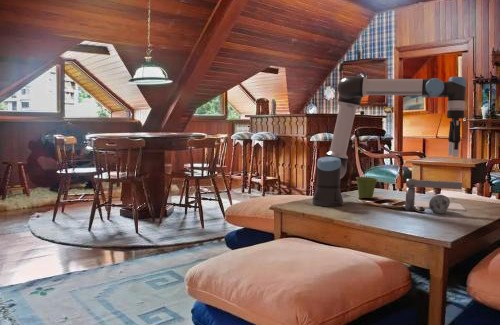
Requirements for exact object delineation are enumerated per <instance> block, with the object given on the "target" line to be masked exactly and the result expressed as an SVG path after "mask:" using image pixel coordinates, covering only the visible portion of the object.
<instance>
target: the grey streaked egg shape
mask: <svg viewBox="0 0 500 325" xmlns="http://www.w3.org/2000/svg"><path fill="white" fill-rule="evenodd" d="M428 202H429V208H430V210H431V211H432V212H433V213H435V214H439V215H442V214H444V213H446V212H447V211H448V210H447V208H448V207H449V204H450V203H451V202H450V198H449V197H447V196H446V195H444V194H436V195H434V196H432V197H431V198H430V200H429V201H428Z"/></svg>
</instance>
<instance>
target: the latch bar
mask: <svg viewBox="0 0 500 325" xmlns="http://www.w3.org/2000/svg"><path fill="white" fill-rule="evenodd" d="M406 187H414V188H429V189H447V190H462V187H463V183H462V182H461V181H445V180H444V181H441V180H428V179H427V180H425V179H423V180H422V179H415V178H406V179H405V188H406Z"/></svg>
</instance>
